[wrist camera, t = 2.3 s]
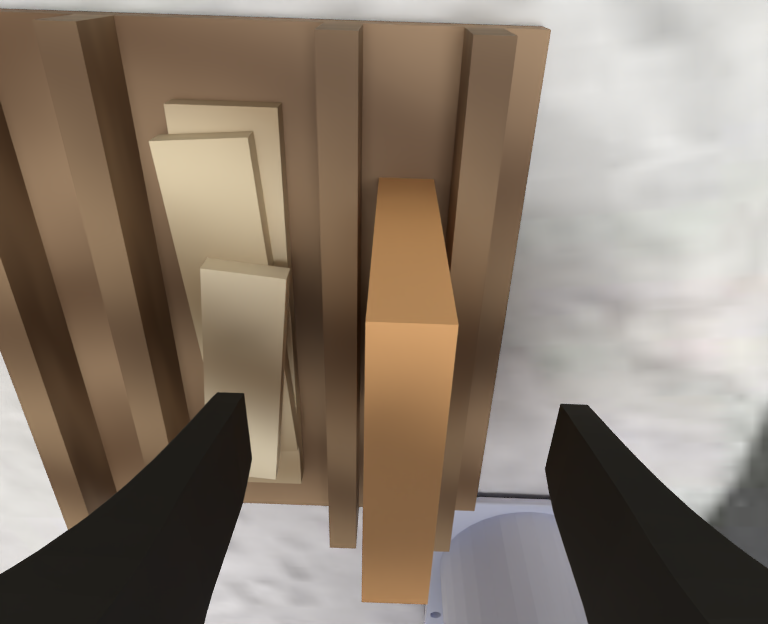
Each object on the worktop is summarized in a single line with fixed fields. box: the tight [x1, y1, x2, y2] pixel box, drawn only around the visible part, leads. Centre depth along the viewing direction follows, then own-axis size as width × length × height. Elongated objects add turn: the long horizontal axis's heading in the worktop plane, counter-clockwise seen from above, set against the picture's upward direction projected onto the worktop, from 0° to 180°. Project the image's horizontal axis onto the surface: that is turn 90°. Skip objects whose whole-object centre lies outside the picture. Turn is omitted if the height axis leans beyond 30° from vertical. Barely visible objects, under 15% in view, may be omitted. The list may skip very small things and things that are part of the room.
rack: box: [0, 9, 551, 552], centre depth 19 cm, size 18×16×3 cm
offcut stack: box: [149, 99, 304, 484], centre depth 18 cm, size 14×4×2 cm, turn 178°
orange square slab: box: [362, 177, 459, 604], centre depth 15 cm, size 8×2×8 cm, turn 178°
